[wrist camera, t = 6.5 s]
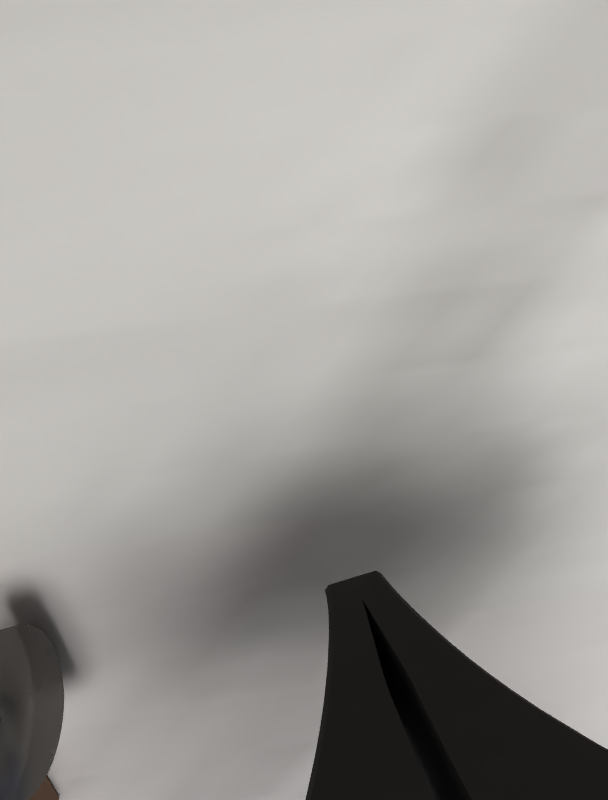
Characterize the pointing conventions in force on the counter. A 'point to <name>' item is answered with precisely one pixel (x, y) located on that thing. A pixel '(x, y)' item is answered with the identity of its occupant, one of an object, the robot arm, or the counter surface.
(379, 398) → the counter surface
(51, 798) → the housing
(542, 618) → the counter surface
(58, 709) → the door stop
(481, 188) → the counter surface
